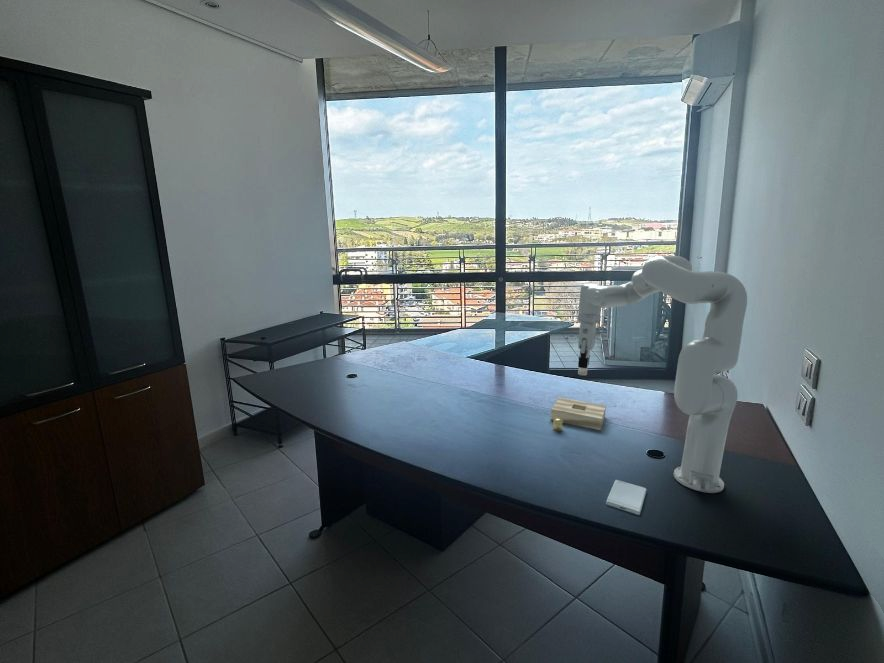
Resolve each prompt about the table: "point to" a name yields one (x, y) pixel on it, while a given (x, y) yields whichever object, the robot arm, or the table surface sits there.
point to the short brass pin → (557, 424)
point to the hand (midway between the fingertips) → (583, 365)
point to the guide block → (579, 413)
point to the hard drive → (626, 497)
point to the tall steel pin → (583, 370)
